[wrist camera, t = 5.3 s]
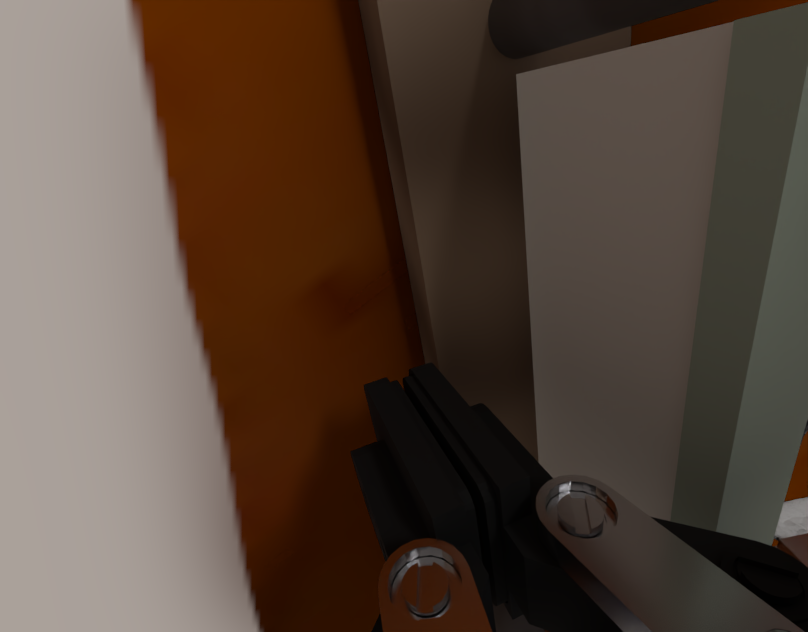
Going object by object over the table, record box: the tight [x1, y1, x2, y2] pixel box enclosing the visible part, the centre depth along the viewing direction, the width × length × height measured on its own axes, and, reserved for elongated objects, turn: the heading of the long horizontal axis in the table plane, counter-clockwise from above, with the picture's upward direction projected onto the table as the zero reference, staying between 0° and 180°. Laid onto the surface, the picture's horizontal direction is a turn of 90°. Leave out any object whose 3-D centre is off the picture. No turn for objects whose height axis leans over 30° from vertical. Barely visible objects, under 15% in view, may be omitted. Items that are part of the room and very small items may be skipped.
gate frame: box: [358, 0, 718, 632], centre depth 10 cm, size 21×6×8 cm, turn 11°
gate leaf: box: [516, 2, 808, 546], centre depth 10 cm, size 15×2×6 cm, turn 11°
